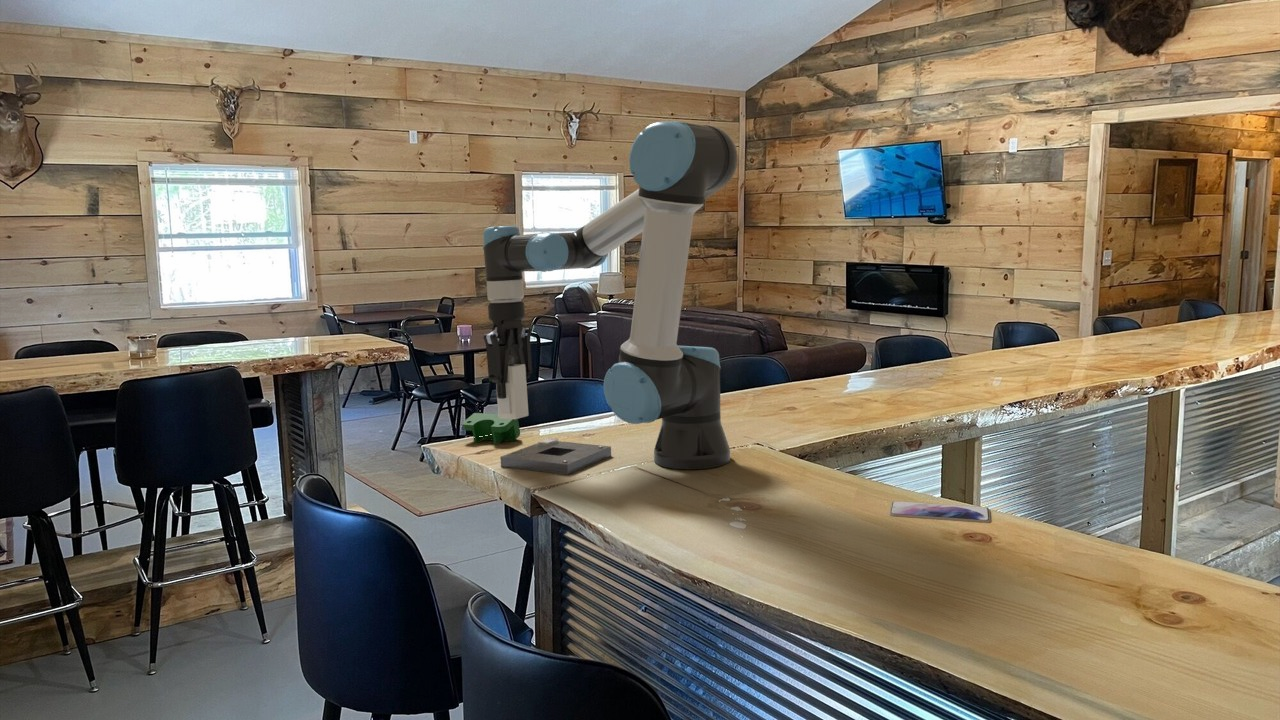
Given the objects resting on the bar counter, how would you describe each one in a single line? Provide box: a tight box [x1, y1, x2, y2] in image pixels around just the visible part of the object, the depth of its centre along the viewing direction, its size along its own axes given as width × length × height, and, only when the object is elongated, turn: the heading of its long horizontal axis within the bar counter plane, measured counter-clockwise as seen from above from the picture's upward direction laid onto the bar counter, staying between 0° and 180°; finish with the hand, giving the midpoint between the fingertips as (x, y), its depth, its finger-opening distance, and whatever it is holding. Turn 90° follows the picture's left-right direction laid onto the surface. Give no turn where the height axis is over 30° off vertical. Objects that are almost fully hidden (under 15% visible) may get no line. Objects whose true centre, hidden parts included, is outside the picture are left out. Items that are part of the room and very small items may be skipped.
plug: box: [495, 355, 530, 420], centre depth 195 cm, size 4×4×13 cm
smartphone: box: [889, 500, 991, 524], centre depth 147 cm, size 7×1×15 cm
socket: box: [500, 437, 612, 476], centre depth 187 cm, size 16×16×3 cm
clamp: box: [462, 412, 521, 446], centre depth 206 cm, size 12×6×9 cm, turn 61°
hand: (513, 410), depth 196 cm, fingers closed on plug, 4 cm apart
